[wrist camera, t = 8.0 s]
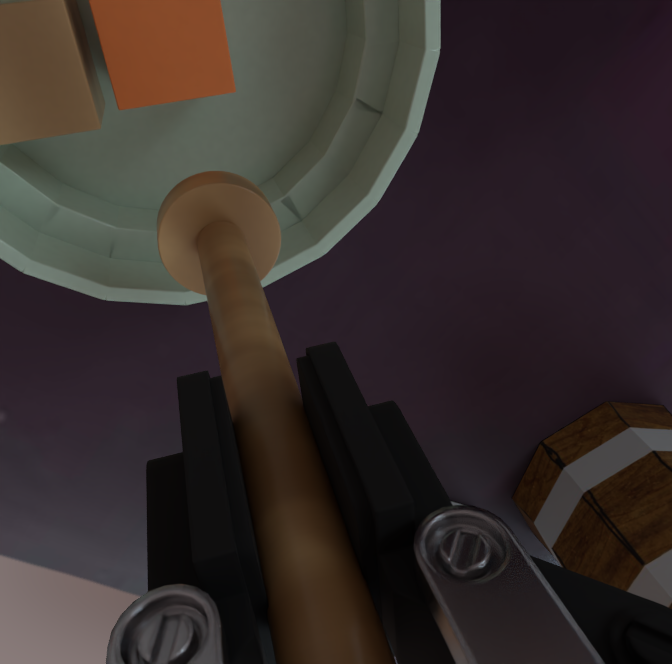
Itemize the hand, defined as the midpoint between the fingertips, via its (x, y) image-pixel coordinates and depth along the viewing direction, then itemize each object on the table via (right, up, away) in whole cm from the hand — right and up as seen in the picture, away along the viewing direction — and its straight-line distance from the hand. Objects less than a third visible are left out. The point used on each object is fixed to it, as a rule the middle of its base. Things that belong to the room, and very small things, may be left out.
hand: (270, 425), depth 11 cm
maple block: (-10, +12, +12) cm, 19 cm away
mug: (+23, -10, +36) cm, 44 cm away
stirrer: (-2, +5, +8) cm, 10 cm away
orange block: (-5, +13, +12) cm, 19 cm away
